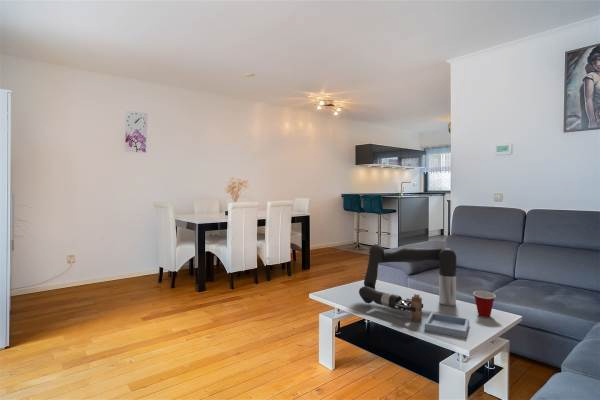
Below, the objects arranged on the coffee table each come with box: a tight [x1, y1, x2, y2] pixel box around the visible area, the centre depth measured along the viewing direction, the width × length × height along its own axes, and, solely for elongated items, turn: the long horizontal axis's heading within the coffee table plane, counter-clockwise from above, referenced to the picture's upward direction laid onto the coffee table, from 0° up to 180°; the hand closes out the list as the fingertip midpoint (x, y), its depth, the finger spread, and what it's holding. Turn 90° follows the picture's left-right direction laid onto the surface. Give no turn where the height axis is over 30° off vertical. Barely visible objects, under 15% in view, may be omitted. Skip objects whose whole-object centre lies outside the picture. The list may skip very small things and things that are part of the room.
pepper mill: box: [411, 293, 423, 323], centre depth 175 cm, size 5×5×14 cm
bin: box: [424, 312, 470, 339], centre depth 166 cm, size 18×18×3 cm
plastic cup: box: [472, 290, 497, 318], centre depth 182 cm, size 11×11×12 cm
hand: (419, 307), depth 174 cm, fingers open, 8 cm apart
